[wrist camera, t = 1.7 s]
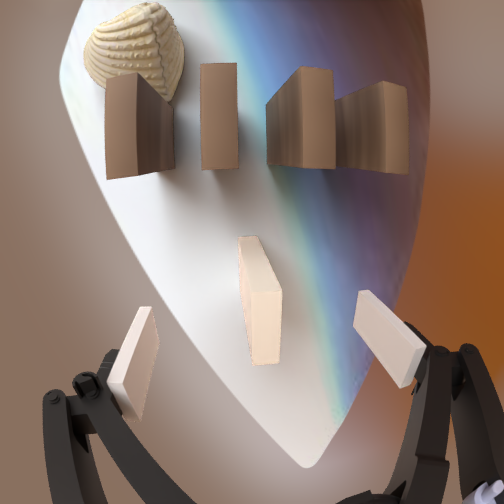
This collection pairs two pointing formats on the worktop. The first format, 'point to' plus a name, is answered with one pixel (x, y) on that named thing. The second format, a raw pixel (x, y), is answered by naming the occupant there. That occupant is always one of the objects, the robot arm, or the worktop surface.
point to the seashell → (137, 48)
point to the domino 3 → (260, 301)
